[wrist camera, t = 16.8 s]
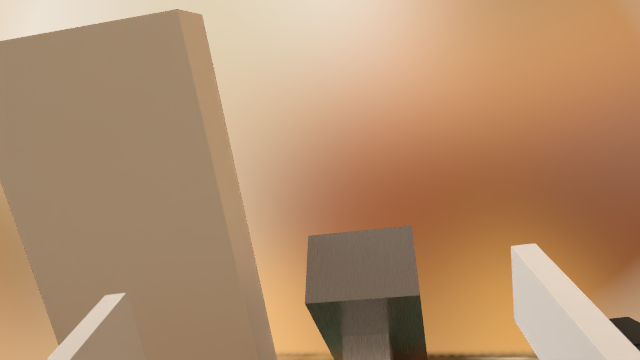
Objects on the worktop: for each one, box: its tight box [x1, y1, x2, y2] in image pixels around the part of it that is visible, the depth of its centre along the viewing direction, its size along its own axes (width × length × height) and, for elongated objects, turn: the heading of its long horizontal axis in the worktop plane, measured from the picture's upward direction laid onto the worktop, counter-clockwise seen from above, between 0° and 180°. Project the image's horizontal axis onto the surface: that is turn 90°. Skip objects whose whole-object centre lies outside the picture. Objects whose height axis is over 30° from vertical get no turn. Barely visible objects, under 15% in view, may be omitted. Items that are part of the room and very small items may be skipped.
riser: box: [0, 9, 277, 360], centre depth 34 cm, size 5×14×30 cm, turn 87°
